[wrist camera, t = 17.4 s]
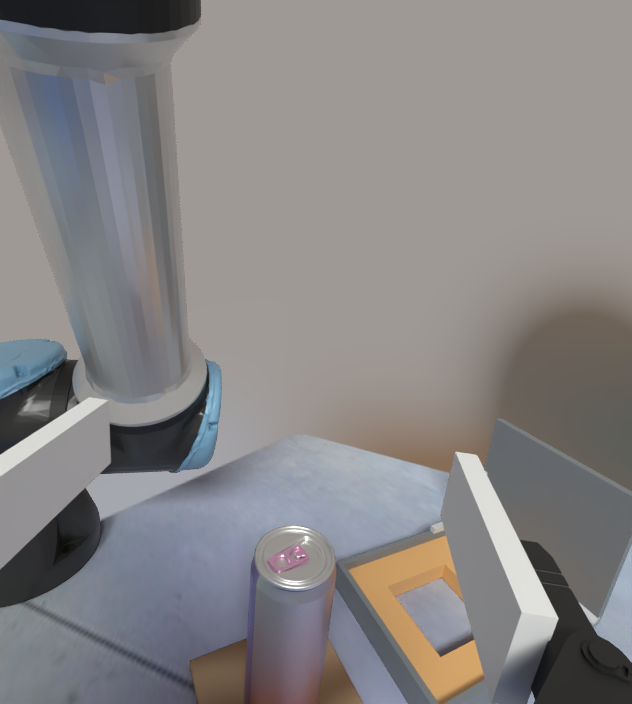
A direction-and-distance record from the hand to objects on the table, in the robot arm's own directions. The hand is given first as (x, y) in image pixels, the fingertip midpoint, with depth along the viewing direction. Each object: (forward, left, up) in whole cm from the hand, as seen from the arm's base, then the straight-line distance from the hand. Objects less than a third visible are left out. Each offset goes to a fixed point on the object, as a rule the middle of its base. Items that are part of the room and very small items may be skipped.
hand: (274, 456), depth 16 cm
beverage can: (-8, +5, -29) cm, 30 cm away
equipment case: (-9, +25, -30) cm, 40 cm away
